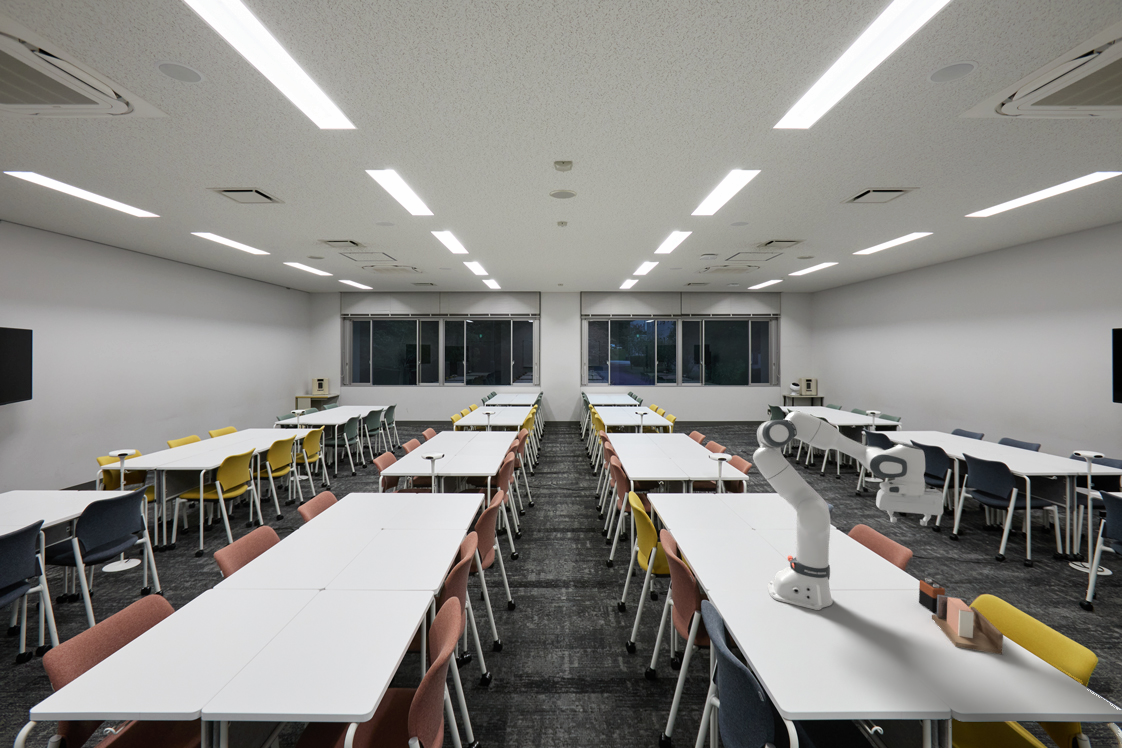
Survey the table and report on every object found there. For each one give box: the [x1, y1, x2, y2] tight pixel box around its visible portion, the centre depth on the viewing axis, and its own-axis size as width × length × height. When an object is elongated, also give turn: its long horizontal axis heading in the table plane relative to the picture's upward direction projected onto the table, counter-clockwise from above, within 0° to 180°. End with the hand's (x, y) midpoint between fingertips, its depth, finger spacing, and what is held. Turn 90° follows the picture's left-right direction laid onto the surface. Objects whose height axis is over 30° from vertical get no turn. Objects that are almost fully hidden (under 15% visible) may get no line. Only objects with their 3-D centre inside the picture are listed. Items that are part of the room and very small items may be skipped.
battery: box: [918, 577, 946, 614], centre depth 164 cm, size 4×7×10 cm, turn 179°
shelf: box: [931, 606, 1004, 655], centre depth 148 cm, size 12×16×6 cm
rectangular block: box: [947, 597, 974, 638], centre depth 148 cm, size 4×8×9 cm, turn 161°
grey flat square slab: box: [936, 595, 968, 619], centre depth 154 cm, size 8×1×8 cm, turn 71°
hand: (908, 523), depth 166 cm, fingers open, 8 cm apart
